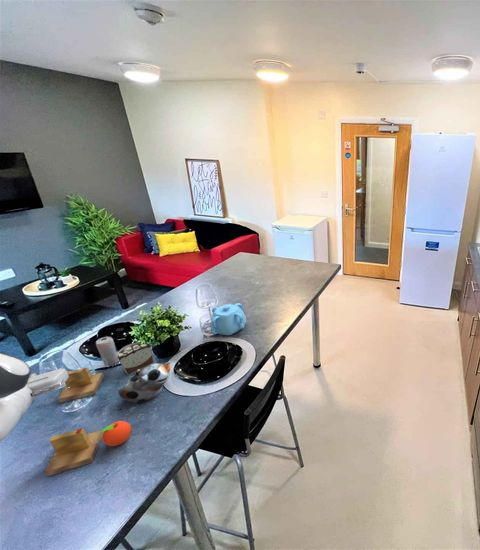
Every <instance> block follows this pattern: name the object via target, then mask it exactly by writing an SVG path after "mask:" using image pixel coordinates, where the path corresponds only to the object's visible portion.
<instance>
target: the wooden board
mask: <svg viewBox="0 0 480 550" xmlns="http://www.w3.org/2000/svg"><path fill="white" fill-rule="evenodd" d="M102 430H103V429H100V430H97V431H93V432H89V433H86V434H87V436H88V438H89V440H90V442H91V444H90V446H89V447H88V448H84V449H81V450H77V451H74V452H70V453H67V454H64V455H60V456H58V454H57V453H56V451H55V450H54V453H53V454H52V455H49V458H51V459H50V461H49V463H48V465H47V467H46V468H45V471H44V473H45V474H46V476H47V477H49V476H53V475H56V474H59V473H63V472H65V471H68V470H69V471H70V470H72V469H75V468H78V467H82V466H84V465H88V464H92V463H93V462H94V459H95V457H96V454H97V452H98V449H99V447H100V444H101V442H102V441H103V439H102V436H103V433H104V432H102V433H100V432H101V431H102ZM99 433H100V434H99ZM98 434H99V435H98ZM97 437H98V438H97Z"/></svg>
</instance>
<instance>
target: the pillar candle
mask: <svg viewBox="0 0 480 550" xmlns="http://www.w3.org/2000/svg"><path fill="white" fill-rule="evenodd" d="M95 346H96V348H97V350H98V353H99V356H100V358H101V360H102V363H103V365H104V366H105V367H106V366H112V367H114V366H113V365H115V364H117V363H119V362H120V361H119V360H118V362H117V359H116V356H117V353H118V352H119V350H118V348H117V346H116V343H115V341H114V338H112V336H103V337H100V338H99V339H97V340H96V341H95ZM119 364H120V363H119ZM117 365H118V364H117ZM115 366H116V365H115Z"/></svg>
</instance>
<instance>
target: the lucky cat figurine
mask: <svg viewBox="0 0 480 550" xmlns="http://www.w3.org/2000/svg"><path fill="white" fill-rule="evenodd" d="M170 371H171V362H169V361H167V362H165V363H156V362H154V363H153V364H151V365H149V366H147V367H145V368H143V369H141V370H140V369H138V370H137V371H136V372H134V375H133V376H130V377H129V378H128V379H127V380H126V382H125V384H124V385H123V387H122V388H120V389H117V390H118V391H117V394H118V395H119V397H120V398H121V399H123V400H126V401H127V402H129V403H134V404H139V403H141V402H143V403H146V402H149V401H150V400H152V399H153V398H155V397H156V396H158V395H159V394H160V393H162V389H163V386H164V384H165V383H166V382H167V381H168V379H169V373H170Z"/></svg>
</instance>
